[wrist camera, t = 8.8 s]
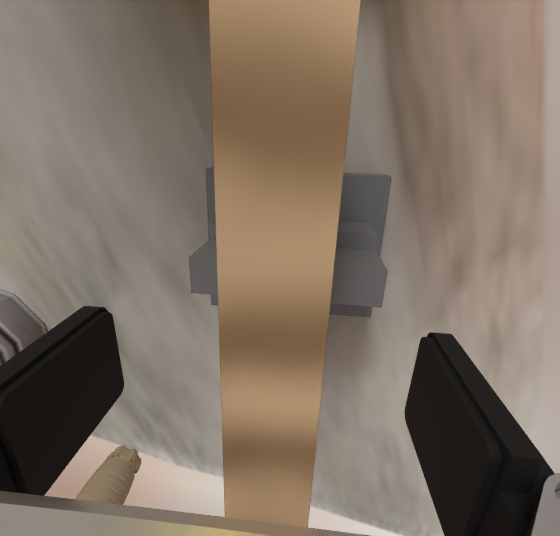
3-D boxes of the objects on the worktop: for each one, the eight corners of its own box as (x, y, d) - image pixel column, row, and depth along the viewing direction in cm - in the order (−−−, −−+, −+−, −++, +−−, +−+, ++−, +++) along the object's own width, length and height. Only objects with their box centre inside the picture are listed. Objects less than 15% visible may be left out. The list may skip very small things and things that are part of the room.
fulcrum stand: (212, 167, 23) (163, 176, 15) (386, 175, 22) (423, 188, 14) (216, 296, 26) (178, 354, 19) (367, 307, 25) (389, 373, 18)
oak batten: (245, -9, 13) (205, -101, 8) (349, -8, 12) (370, -104, 8) (245, 450, 21) (225, 537, 16) (307, 457, 21) (305, 547, 16)
